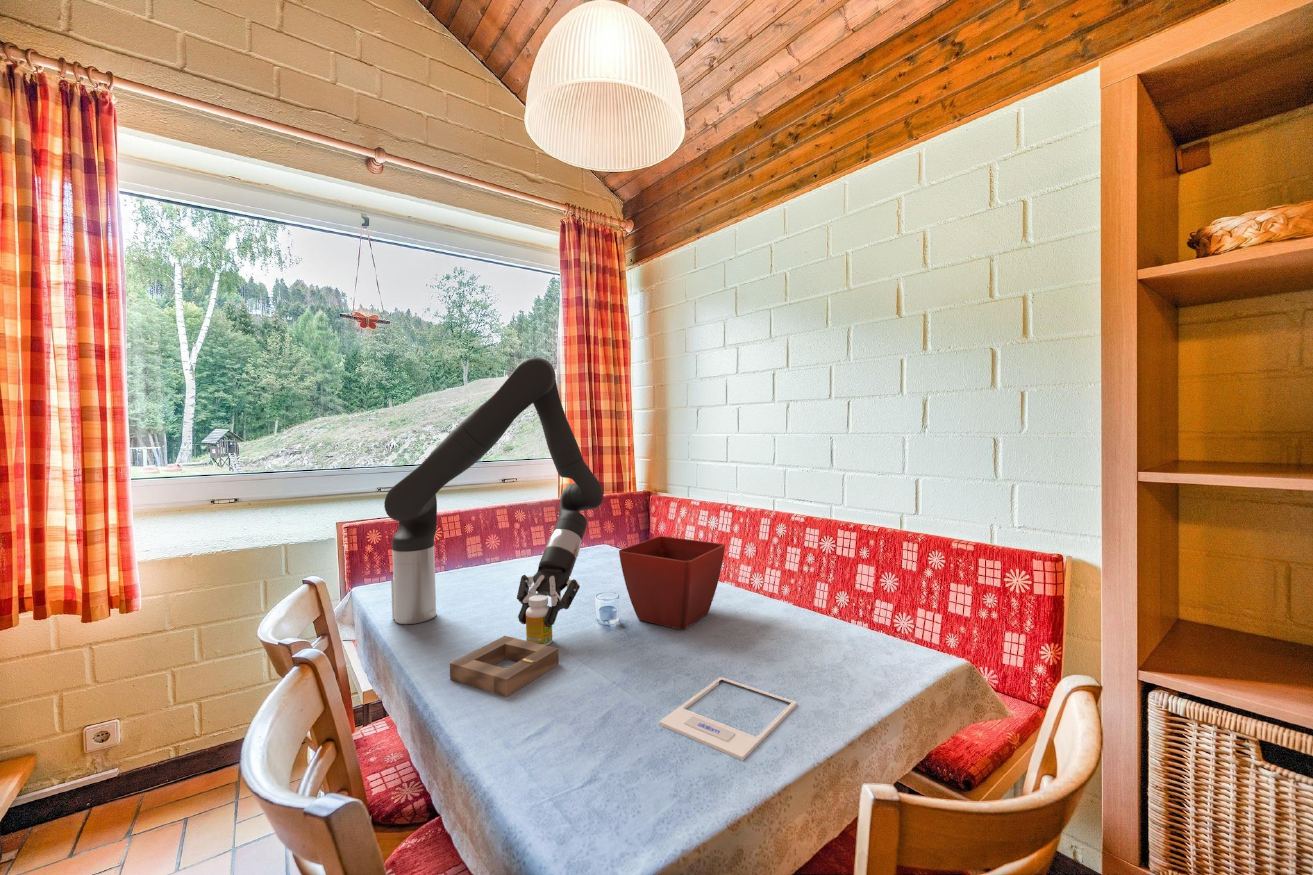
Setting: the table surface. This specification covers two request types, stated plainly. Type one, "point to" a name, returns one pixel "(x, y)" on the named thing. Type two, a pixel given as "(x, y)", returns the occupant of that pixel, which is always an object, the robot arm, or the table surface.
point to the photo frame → (719, 726)
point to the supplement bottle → (538, 621)
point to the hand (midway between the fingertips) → (534, 623)
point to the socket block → (499, 680)
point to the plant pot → (672, 579)
